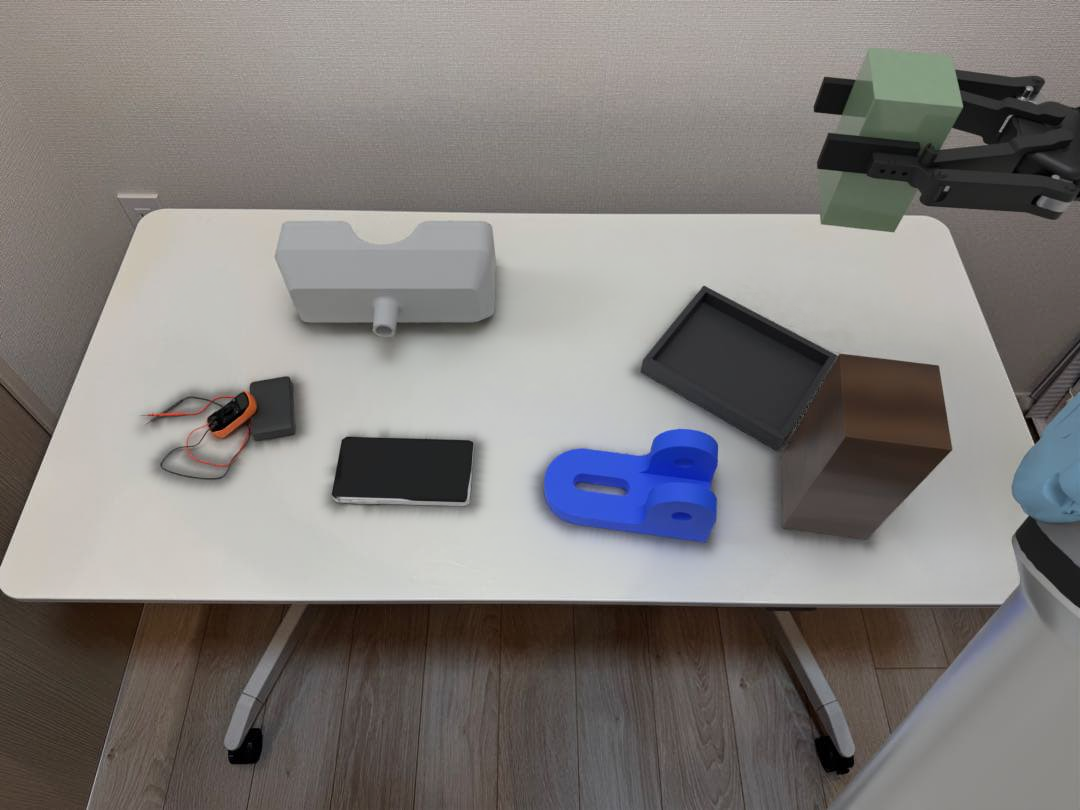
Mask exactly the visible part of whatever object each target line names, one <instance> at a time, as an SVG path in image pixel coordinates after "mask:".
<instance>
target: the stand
mask: <svg viewBox="0 0 1080 810" xmlns="http://www.w3.org/2000/svg"><path fill="white" fill-rule="evenodd" d="M837 355H838V357H837V359H836V360H835V362H834V364H833V366H832V367H831V369H830V371H829V372H828V374H827V375H826V377H825V378H824V380H823V381H822V383H821V384H820V386H819V387H818V389H817V391H816V393H815V394H814V396H813V398H812V401H811V402H810V404H809V406H808V407H807V409H806V411H805V413H804V414H803V416H802V418H801V420H800V422H799V424H798V425H797V427H796V429H795V430H794V432H793V434H792V435H791V437H790V439H789V441H788V442H787V444H786V446H785V447H784V450H782V451H783V452H782V453H781V455H780V484H781V485H780V486H781V489H780V490H781V524H782V525H781V528H782V529H785V530H792V531H800V532H807V533H814V534H822V535H830V536H836V537H843V538H852V539H859V540H866V541H867V540H868V539H869V538H870V537H871V536H872V535H873V534H874V533H875V532H876V531H877V530H878V529H879V528H880V526H882V525H883V523H885V522H886V520H887V519H888V518H889V517H890V516H891V515H892V514H893V513H894V512H895V511H896V510H897V509H898V508H899V507H900V506H901V505H902V504H903V503H904V501H906V499H907V498H909V496H910V495H911V494H912V493H913V492H914V491H915V490H916V489H917V488H918V487H919V486H920V485H921V484H922V483H923V482H924V480H925V479H927V477H929V475H930V474H932V472H933V471H934V470H935V469H936V468H937V467H938V466H939V465H940V464H941V463H942V462H943V461H944V460H945V458H947V457H948V455H949V454H950V453H951V452H952V451H953V445H952V443H953V442H952V439H951V431H950V426H949V418H948V413H947V408H946V407H947V406H946V402H945V401H946V400H945V394H944V388H943V382H942V376H941V369H940V365H939V364H931V363H923V362H916V361H915V362H914V361H906V360H898V359H890V358H881V357H873V356H864V355H857V354H856V355H855V354H848V353H842V352H841V353H839V354H837Z"/></svg>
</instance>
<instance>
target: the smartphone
mask: <svg viewBox="0 0 1080 810" xmlns="http://www.w3.org/2000/svg"><path fill="white" fill-rule="evenodd" d="M340 441H341V442H340V445H339V446H340V447H339V452H338V457H337V463H336V469H335V474H334V478H333V479H334V480H333V484H332V491H331V497H332V499H333V500H334V502H336V503H339V504H340V503H344V504H345V503H347V504H359V505H360V504H361V505H362V504H363V505H365V504H366V505H378V504H379V505H381V504H382V505H410V506H411V505H413V506H416V505H417V506H450V507H466V506H468V505H470V503H471V490H472V489H471V488H472V478H473V464H474V452H475V444H474V441H472V440H470V439H441V438H440V439H439V438H437V439H435V438H410V437H407V438H406V437H382V436H345V437H344V438H342V439H341V440H340Z"/></svg>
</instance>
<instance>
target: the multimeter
mask: <svg viewBox="0 0 1080 810" xmlns="http://www.w3.org/2000/svg"><path fill="white" fill-rule="evenodd" d="M190 398H192V399H193V398H194V399H200V400H204V401H208V403H207V404H206V406H205V407H204V408H202V409H201V410H200V411H197V412H193V413H186V412H168V411H170V410H172V409H174V408H175V407H176V406H178V405H179V404H181V403H182V402H183V401H184V400H186V399H190ZM220 398H221V399H222V398H232V399H231V400H230V401H228V402H227V403H226V404H225V405H222V404H220V403H218V402H215V400H217V399H220ZM211 403H213V404H214V405H215V404H216V405H217V406H219V407H221V408H219V409H217V410H216V411H214V412H213V413H211V414H210V415H208V416H207V417H206V424H205V425H203V426H200V427H197V428H195V429H193V430H192V431H191V432H190V433H189V434H188V436H187V439H186V443H185V446H179V447H176V448H174V449H172V450H170V451H169V452H168V453H167V454H166V455H165V456H164V457H163V459H162V460H161V461H160V464H159V465H160V468H161V469H163V470H164V471H166V472H168V473H170V474H174V475H178V476H181V477H185V478H192V479H200V480H218V479H221V478H223V477H225V476H226V474H227V473H228V471H229V470H230V467H231V464H232V463H233V462H234V461H235V460H236V459H237V457H238V456H239V455H240V453H241V452H242V451H243V449H244V448H245V447H246V446H247V444H248V442H250V441H249V440H250V438H251V436H252V438H253V439H254V440H255V441H261V440H266V439H272V438H273V439H274V438H278V437H284V436H288V435H293V434H295V433H296V420H295V419H296V418H295V408H294V383H293V381H292V380H291V377H290V376H288V375H286V376H279V377H274V378H273V377H272V378H267V379H262V380H255V381H252V382H250V383H249V392H248V391H247V390H242V391H241V392H240V393H238V394H237V395H222V396H221V395H220V396H218V397H215V398H213V399H207V398H204V397H198V396H193V395H192V396H190V395H189V396H187V397H184V398H182V399H179V400H178V401H176V402H175V403H173V404H171V406H169V407H168V408H166V409H165V410H163V411H161V412H160V413H154V412H152V413H149V414H148V413H147V414H141V415H140V414H139V415H138V416H139V417H140V416H141V417H152V418H151V419H150V420H149V421H148V422H146V423H145V424H144V426H146V425H148V424H149V423H151V422H154V421H155V420H157V419H158V418H159V417H176V416H185V415H189V416H190V415H191V416H194V415H198V414H200V413H203V411H204V410H206V409H207V407H208V406H209V405H210V404H211ZM249 419H250V422H249V424H248V423H247V420H249ZM243 423H245V425H246V427H247V433H246V435H245V438H244V440H243V442H242V444H241V446H240V448H239V450H238V452H236V454H235V455H234V456H233V457H232V458H231V460H230V462H227V463H226V464H216V463H212V462H207V461H203V460H199V459H197V458H195V457H194V456H193V455H192V454H191V452H190V451H189V448H193V447H196V446H198V445H200V443H201V442H202V441H203V440H204V438H205V436H207V434H208V432H210V433H211V434H213V435H214V436H215V437H218V438H219V439H224V438H225V437H226V436H228V435H229V434H231V433H232V432H233V431H235V429H237V428H238V427H239V426H241V425H242V424H243ZM205 427H207V428H208V429H207V430H206V431H205V432H204V434H203V435H202V437H201V439H200V440H199V442H197V443H196V444H194V445H189V444H188V443H189V438H190V436H191V435H192V434H193V433H194V432H196V431H198V430H200V429H204V428H205ZM183 448H186V451H187V453H188V455H189V456H190V457H191V459H193V460H194V461H197V462H199V463H203V464H209V465H212V466H216V467H225V466H228V467H227V470H226V471H225V473H224V474H223V475H221V476H219V477H199V476H193V475H186V474H181V473H177V472H174V471H171V470H168V469H167V468H164V467H163V466H162V465H163V462H164V460H165V459H166V458H167V457H168V456H169V455H171V454H172V452H174V451H176V450H179V449H183Z"/></svg>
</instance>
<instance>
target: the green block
mask: <svg viewBox="0 0 1080 810" xmlns="http://www.w3.org/2000/svg"><path fill="white" fill-rule="evenodd" d="M855 80H856V81H855V83H854V86H853V88H852V91H851V93H850V96H849V98H848V101H847V103H846V106H845V108H844V111H843V113H842V115H840V118H839V121H838V123H837V125H836V129H835V132H834V133H836V134H846V135H856V136H864V137H873V138H883V139H893V140H903V141H912V142H920V148H921V149H920V151H919V153H918V155H917V156H921V155H922V153H923V151H924V149H925V147H926V145H927V144H928V143H932V144H931V146H932V145H933V146H934V148H935V149H936V150H942V147H943V146H944V143H945V141H946V139H947V138H948V136H949V134H950V133H951V130H952V129H953V128H952V127H953V125H954V123H955V121H956V120H957V118H958V116H959V114H960V112H961V110H962V109H963V103H962V99H961V94H960V90H959V85H958V81H957V76H956V72H955V64H954V58H953V55H949V54H940V53H939V54H937V53H930V52H929V53H928V52H918V51H909V50H907V51H905V50H898V49H897V50H895V49H886V48H874V47H868V48H867V51H866V53H865V55H864V58H863V61H862V63H861V66H860V69H859V71H858V73H857V75H856V78H855ZM931 146H930V147H931ZM929 149H930V148H929ZM817 185H818V202H819V204H818V205H819V219H820V220H819V222H820V225H824V226H830V227H831V226H832V227H841V228H849V229H858V230H859V229H860V230H868V231H877V232H886V233H895V232H896V230H897V229H898V227H899V225H900V223H901V222H902V220H903V218H904V216H905V214H906V212H907V211H908V208H909V207H910V205H911V203H912V201H913V199H914V198H915V196H916V194H917V192H918V191H919V190H918V188H914V187H912V186H910V185H909V184H908V182H904V181H894V180H888V179H887V180H885V179H876V178H872V177H869V176H867V174H861V173H851V172H842V171H832V170H823V169H819V171H818V174H817Z"/></svg>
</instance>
